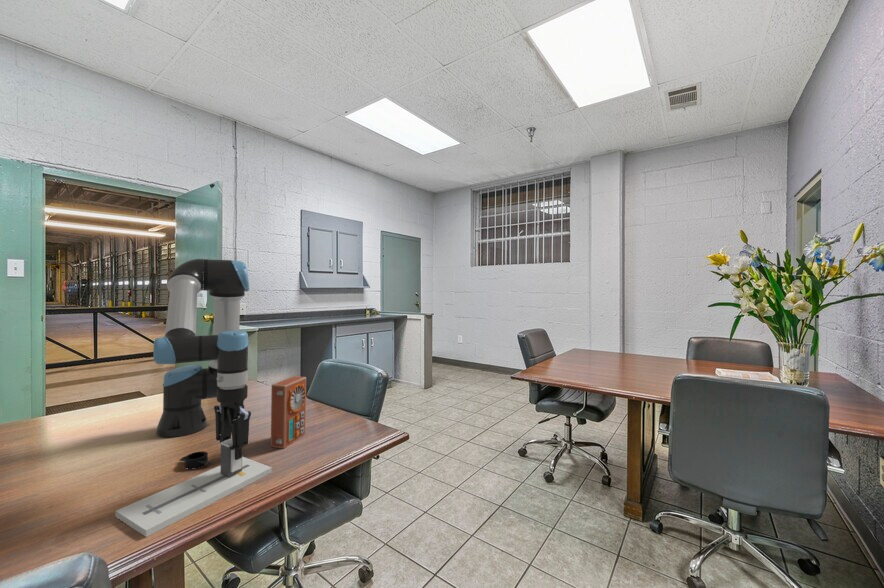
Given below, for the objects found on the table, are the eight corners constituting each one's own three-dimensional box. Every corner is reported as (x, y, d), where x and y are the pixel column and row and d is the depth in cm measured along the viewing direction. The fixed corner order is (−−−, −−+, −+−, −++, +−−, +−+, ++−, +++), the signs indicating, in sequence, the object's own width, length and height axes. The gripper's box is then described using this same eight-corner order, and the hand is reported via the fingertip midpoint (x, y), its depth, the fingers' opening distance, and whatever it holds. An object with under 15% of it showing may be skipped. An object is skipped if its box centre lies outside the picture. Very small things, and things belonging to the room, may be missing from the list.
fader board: (115, 517, 83) (115, 510, 83) (241, 461, 111) (241, 455, 111) (146, 537, 77) (146, 529, 77) (271, 472, 105) (271, 467, 105)
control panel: (309, 432, 133) (283, 450, 119) (292, 431, 135) (265, 448, 120) (310, 376, 133) (284, 386, 118) (293, 374, 134) (266, 385, 120)
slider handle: (220, 473, 100) (220, 442, 100) (234, 467, 104) (234, 436, 103) (228, 477, 98) (228, 445, 98) (242, 470, 102) (242, 439, 102)
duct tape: (183, 476, 102) (183, 466, 102) (178, 463, 109) (178, 453, 109) (214, 467, 107) (214, 457, 107) (207, 455, 115) (207, 446, 115)
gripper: (201, 384, 101) (200, 466, 101) (238, 393, 93) (236, 482, 94) (227, 379, 108) (226, 455, 108) (263, 387, 100) (262, 469, 101)
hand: (231, 467), depth 101 cm, fingers closed on slider handle, 3 cm apart
